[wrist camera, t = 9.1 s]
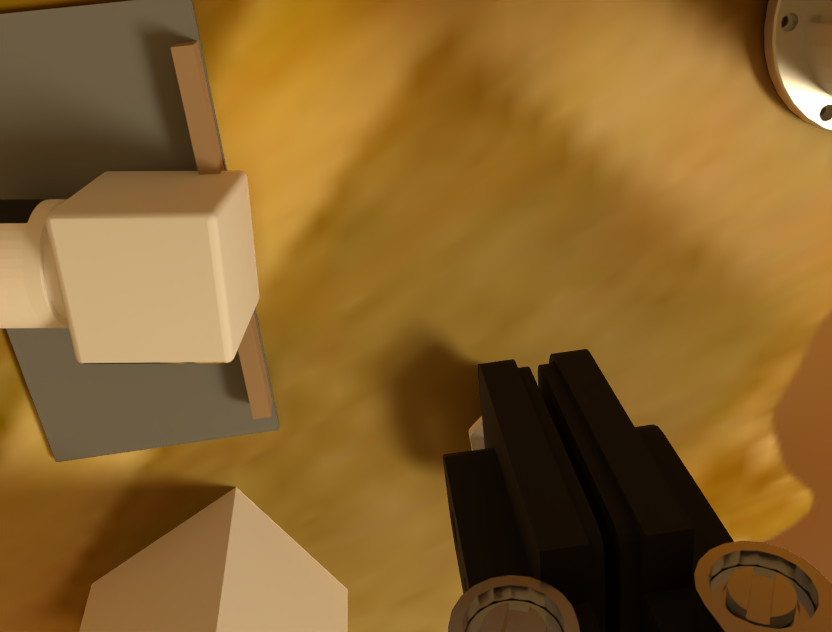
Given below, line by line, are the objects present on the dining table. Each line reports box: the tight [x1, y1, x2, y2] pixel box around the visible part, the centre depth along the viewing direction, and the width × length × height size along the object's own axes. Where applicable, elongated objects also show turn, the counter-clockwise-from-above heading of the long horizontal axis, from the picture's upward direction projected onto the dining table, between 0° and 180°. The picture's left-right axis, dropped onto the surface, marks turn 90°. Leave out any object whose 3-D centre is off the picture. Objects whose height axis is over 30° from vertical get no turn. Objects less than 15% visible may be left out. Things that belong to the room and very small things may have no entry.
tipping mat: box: [0, 0, 279, 462], centre depth 39 cm, size 13×24×2 cm, turn 5°
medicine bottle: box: [0, 171, 259, 364], centre depth 36 cm, size 7×7×12 cm
